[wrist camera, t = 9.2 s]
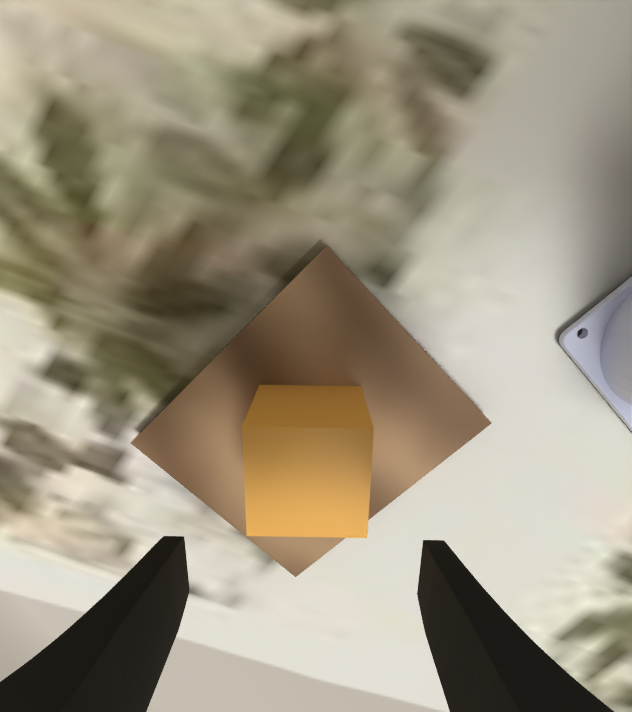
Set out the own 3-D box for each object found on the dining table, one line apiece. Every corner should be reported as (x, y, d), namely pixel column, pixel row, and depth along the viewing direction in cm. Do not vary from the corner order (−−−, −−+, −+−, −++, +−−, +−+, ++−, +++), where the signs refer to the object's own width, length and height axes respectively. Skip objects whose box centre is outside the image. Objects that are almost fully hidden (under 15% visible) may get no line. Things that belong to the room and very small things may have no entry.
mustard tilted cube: (259, 384, 19) (241, 426, 15) (361, 386, 19) (373, 428, 15) (261, 473, 20) (246, 536, 16) (356, 475, 20) (367, 538, 16)
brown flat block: (326, 245, 18) (328, 246, 14) (483, 414, 20) (522, 454, 16) (139, 433, 21) (98, 477, 17) (296, 563, 23) (292, 626, 19)
